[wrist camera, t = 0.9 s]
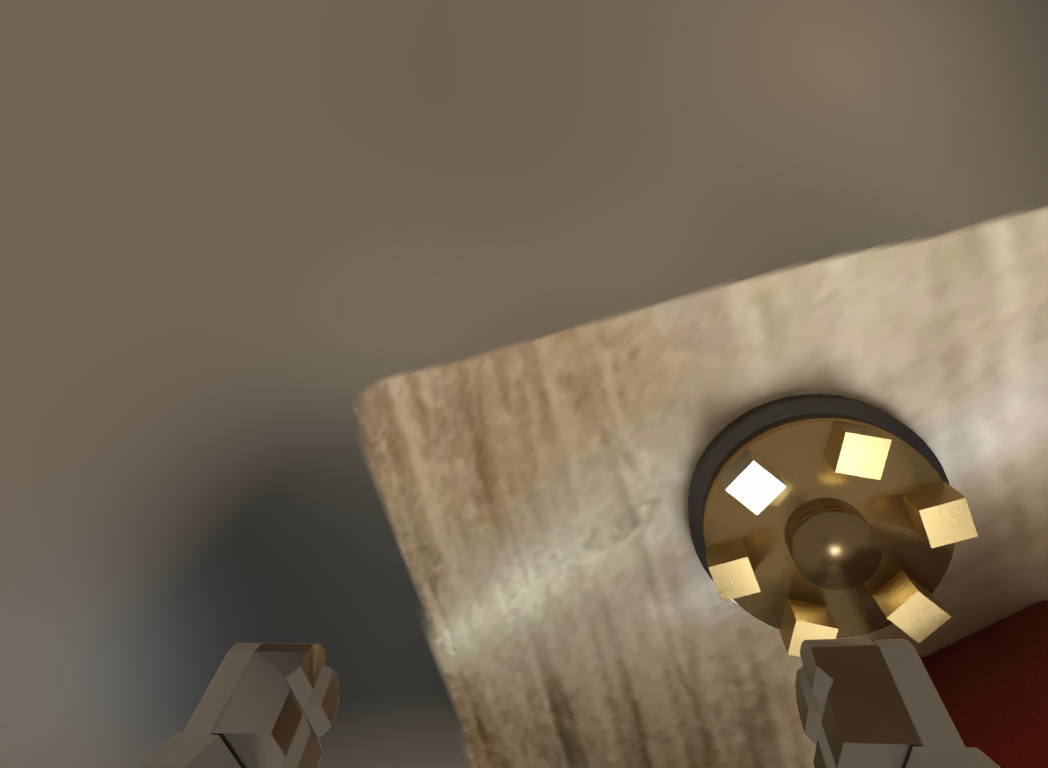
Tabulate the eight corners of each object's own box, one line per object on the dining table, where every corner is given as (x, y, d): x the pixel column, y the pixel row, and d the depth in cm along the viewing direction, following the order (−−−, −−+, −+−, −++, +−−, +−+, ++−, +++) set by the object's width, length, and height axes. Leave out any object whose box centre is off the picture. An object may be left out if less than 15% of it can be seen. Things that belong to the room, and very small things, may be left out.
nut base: (1000, 500, 49) (1016, 512, 47) (817, 657, 55) (824, 674, 53) (801, 344, 50) (809, 349, 47) (640, 517, 55) (640, 528, 53)
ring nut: (994, 512, 48) (1038, 546, 42) (823, 659, 53) (843, 705, 47) (809, 367, 48) (830, 382, 42) (657, 527, 53) (658, 558, 48)
